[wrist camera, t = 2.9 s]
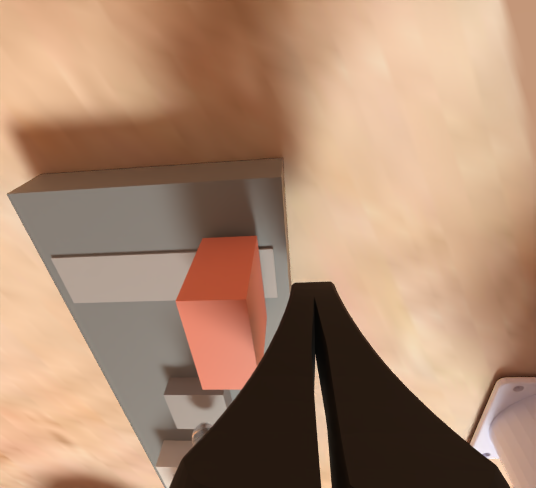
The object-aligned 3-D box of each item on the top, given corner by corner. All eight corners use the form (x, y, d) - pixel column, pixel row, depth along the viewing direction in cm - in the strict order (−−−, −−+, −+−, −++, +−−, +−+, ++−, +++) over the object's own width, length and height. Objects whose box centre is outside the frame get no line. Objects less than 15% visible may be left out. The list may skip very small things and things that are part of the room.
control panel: (282, 157, 13) (280, 195, 10) (303, 467, 26) (304, 524, 23) (41, 174, 14) (-27, 213, 11) (175, 464, 27) (161, 518, 24)
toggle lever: (216, 407, 17) (244, 505, 13) (222, 428, 17) (249, 524, 14) (179, 422, 16) (198, 528, 12) (187, 442, 17) (207, 546, 13)
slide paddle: (256, 235, 12) (246, 299, 9) (266, 317, 14) (260, 389, 11) (202, 238, 12) (175, 301, 9) (220, 318, 14) (202, 389, 12)
